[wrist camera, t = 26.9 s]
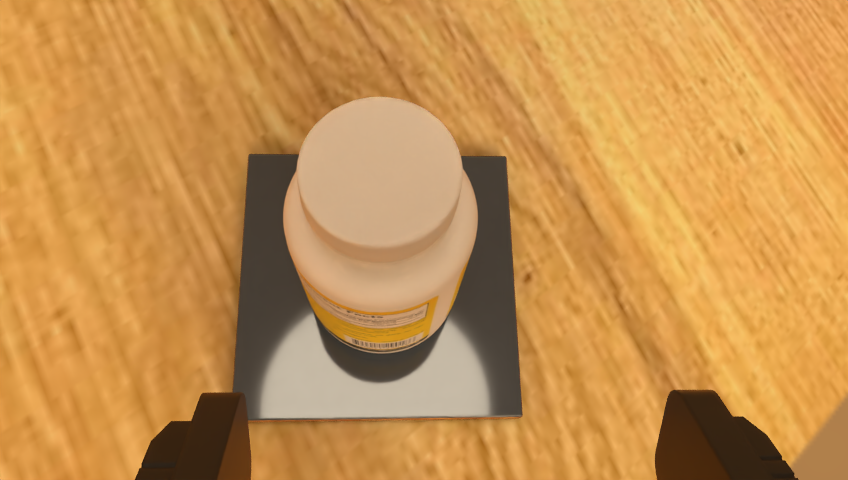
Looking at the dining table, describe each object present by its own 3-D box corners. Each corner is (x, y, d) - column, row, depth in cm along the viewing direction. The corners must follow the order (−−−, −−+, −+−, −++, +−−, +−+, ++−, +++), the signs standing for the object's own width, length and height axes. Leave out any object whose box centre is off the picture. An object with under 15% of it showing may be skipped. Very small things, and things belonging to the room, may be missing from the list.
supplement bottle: (384, 185, 28) (389, 31, 18) (485, 286, 27) (543, 175, 17) (275, 278, 26) (219, 161, 17) (376, 388, 25) (376, 327, 16)
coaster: (504, 162, 29) (506, 155, 28) (519, 418, 26) (523, 416, 25) (250, 159, 28) (248, 153, 28) (233, 422, 25) (230, 420, 24)
